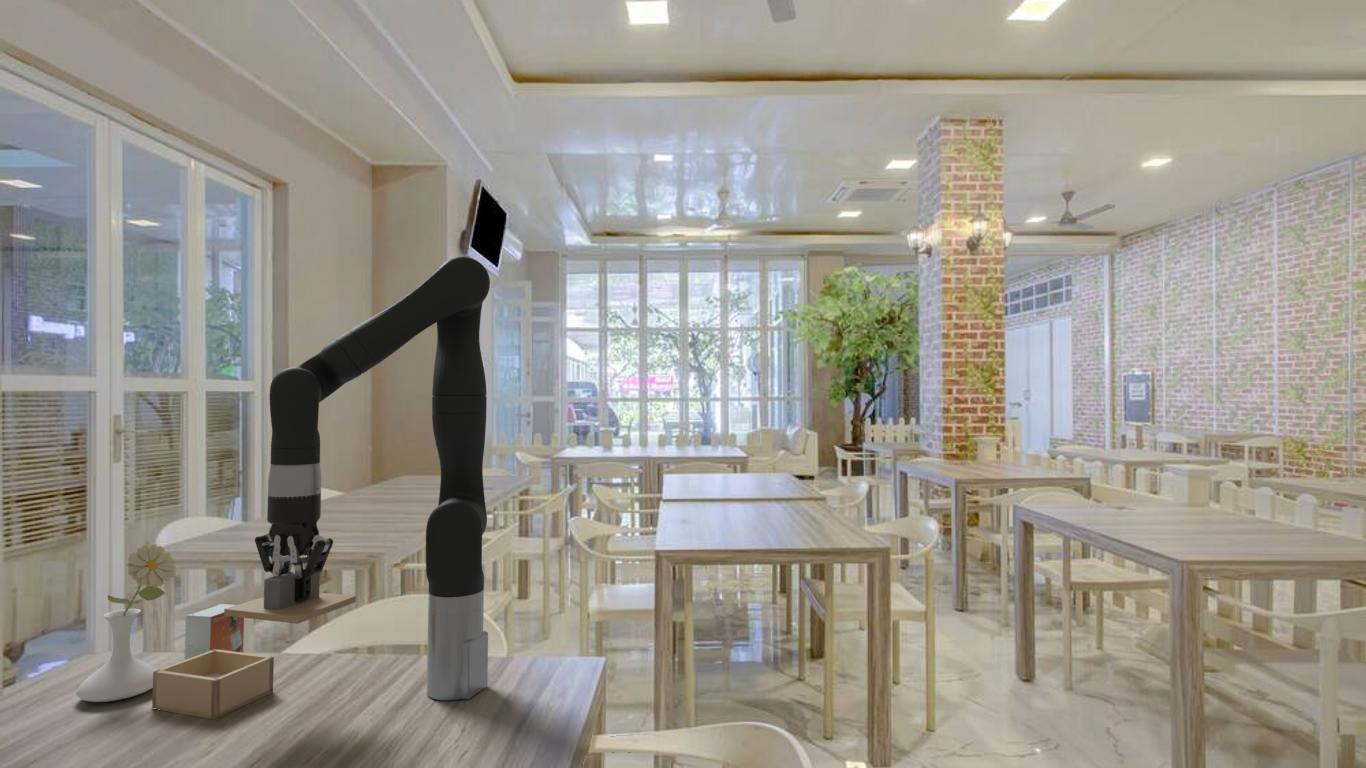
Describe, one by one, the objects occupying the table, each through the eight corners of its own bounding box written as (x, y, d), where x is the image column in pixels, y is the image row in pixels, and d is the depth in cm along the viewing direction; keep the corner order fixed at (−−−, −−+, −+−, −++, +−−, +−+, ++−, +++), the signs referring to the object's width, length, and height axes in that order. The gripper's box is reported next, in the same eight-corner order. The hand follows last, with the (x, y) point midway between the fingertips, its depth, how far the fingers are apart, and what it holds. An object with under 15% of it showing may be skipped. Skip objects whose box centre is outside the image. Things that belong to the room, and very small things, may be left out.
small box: (208, 675, 128) (210, 617, 129) (183, 672, 130) (184, 615, 130) (244, 659, 136) (245, 604, 137) (219, 657, 137) (221, 603, 138)
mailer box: (273, 691, 121) (273, 656, 121) (214, 719, 111) (215, 680, 111) (214, 683, 125) (214, 649, 125) (152, 709, 114) (153, 671, 114)
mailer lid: (355, 602, 117) (356, 568, 117) (297, 623, 105) (298, 586, 105) (287, 595, 120) (288, 562, 120) (224, 615, 109) (225, 579, 109)
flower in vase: (86, 715, 112) (91, 556, 112) (67, 697, 119) (72, 547, 119) (182, 689, 122) (186, 544, 123) (160, 673, 129) (163, 536, 130)
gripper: (348, 490, 115) (346, 597, 114) (278, 487, 119) (276, 590, 118) (312, 496, 108) (310, 610, 107) (239, 492, 112) (237, 602, 111)
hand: (292, 599), depth 113 cm, fingers closed on mailer lid, 3 cm apart
